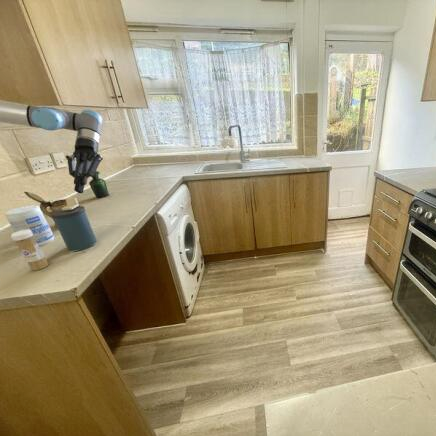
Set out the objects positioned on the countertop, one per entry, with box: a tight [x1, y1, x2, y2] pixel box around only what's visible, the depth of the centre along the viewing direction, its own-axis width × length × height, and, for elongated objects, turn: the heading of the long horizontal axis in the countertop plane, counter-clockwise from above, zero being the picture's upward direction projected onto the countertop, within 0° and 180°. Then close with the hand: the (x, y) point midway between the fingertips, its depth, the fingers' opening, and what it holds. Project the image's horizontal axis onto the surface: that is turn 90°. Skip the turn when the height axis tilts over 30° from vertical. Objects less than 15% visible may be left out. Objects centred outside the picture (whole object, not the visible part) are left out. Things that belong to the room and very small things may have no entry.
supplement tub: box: [4, 205, 55, 247], centre depth 96 cm, size 10×10×15 cm
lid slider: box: [61, 197, 80, 210], centre depth 90 cm, size 4×3×3 cm
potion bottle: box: [88, 170, 110, 199], centre depth 150 cm, size 8×8×18 cm
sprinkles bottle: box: [10, 230, 50, 271], centre depth 80 cm, size 5×5×13 cm
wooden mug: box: [23, 191, 67, 227], centre depth 112 cm, size 9×14×18 cm, turn 126°
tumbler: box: [51, 205, 97, 253], centre depth 93 cm, size 10×10×15 cm
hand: (78, 191), depth 96 cm, fingers closed
